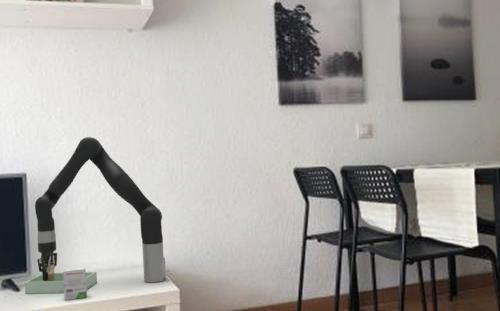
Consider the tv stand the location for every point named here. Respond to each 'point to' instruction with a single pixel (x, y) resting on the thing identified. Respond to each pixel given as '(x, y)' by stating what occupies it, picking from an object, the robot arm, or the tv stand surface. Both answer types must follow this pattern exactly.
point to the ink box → (75, 283)
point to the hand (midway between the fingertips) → (48, 278)
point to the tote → (54, 284)
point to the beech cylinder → (50, 273)
